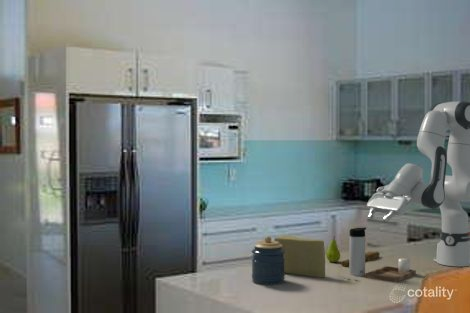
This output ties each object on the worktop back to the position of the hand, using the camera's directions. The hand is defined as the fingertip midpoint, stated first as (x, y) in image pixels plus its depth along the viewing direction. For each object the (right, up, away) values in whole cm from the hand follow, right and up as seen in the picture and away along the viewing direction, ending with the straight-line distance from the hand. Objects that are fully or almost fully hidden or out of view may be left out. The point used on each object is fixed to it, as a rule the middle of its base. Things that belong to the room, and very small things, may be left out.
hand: (377, 219), depth 249 cm
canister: (-45, -23, -11) cm, 52 cm away
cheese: (-31, -23, +2) cm, 38 cm away
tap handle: (-1, -22, +27) cm, 35 cm away
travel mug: (-9, -23, -4) cm, 25 cm away
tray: (+4, -23, -7) cm, 24 cm away
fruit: (-14, -22, +26) cm, 37 cm away
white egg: (+10, -21, -5) cm, 24 cm away
